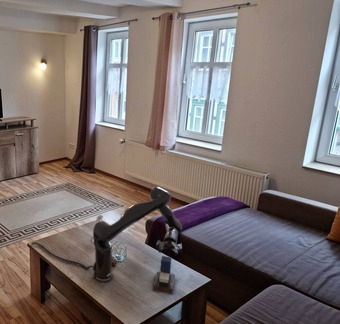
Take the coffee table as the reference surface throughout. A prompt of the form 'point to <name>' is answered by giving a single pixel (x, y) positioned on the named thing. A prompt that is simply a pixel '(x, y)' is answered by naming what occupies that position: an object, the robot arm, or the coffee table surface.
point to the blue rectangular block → (165, 271)
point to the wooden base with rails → (164, 288)
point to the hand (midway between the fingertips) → (167, 252)
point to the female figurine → (99, 218)
